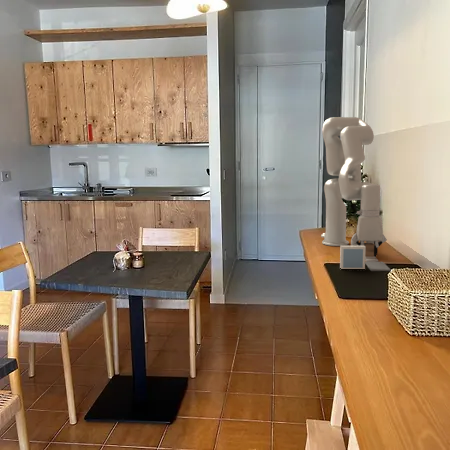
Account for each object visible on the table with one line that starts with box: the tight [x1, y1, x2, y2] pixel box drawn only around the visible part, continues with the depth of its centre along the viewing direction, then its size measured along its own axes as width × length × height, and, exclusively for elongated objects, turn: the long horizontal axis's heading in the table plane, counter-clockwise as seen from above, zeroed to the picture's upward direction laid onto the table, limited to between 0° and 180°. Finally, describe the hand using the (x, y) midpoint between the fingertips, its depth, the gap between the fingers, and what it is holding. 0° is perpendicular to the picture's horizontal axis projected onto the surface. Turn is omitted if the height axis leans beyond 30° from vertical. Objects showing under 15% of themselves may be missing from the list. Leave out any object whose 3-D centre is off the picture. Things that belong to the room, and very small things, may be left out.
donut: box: [350, 232, 374, 246], centre depth 198 cm, size 10×4×10 cm, turn 81°
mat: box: [365, 261, 392, 272], centre depth 175 cm, size 12×7×1 cm, turn 174°
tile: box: [339, 245, 366, 270], centre depth 173 cm, size 2×9×9 cm, turn 84°
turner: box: [363, 242, 379, 262], centre depth 188 cm, size 10×4×6 cm, turn 174°
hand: (368, 255), depth 191 cm, fingers closed on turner, 4 cm apart
